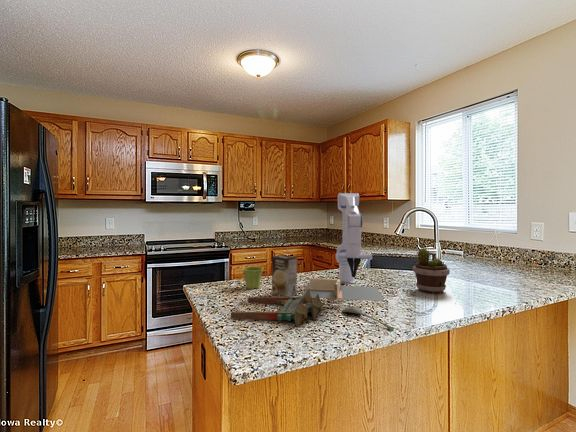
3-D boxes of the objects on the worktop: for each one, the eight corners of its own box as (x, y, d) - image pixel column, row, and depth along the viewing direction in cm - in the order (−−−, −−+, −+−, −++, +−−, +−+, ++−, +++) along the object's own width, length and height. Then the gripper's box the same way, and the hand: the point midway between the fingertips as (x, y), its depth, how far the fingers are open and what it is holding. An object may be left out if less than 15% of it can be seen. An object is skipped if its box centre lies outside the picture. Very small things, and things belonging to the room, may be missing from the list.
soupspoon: (352, 311, 115) (337, 315, 112) (352, 302, 115) (337, 305, 112) (399, 330, 96) (383, 335, 92) (399, 318, 96) (383, 323, 92)
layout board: (306, 285, 149) (306, 273, 148) (376, 288, 144) (376, 275, 144) (302, 298, 127) (302, 284, 127) (384, 302, 122) (384, 287, 122)
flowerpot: (455, 291, 139) (456, 246, 139) (439, 297, 130) (439, 248, 129) (423, 285, 151) (423, 243, 150) (406, 290, 141) (406, 245, 140)
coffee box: (270, 294, 133) (271, 256, 133) (280, 291, 138) (281, 254, 138) (287, 298, 127) (288, 258, 127) (297, 295, 132) (297, 256, 132)
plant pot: (259, 290, 139) (259, 271, 139) (239, 289, 142) (239, 269, 141) (266, 285, 148) (266, 267, 148) (247, 284, 151) (247, 266, 150)
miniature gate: (251, 290, 127) (326, 289, 121) (252, 304, 127) (327, 303, 121) (225, 311, 100) (319, 311, 94) (226, 329, 100) (321, 329, 95)
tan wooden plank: (337, 289, 138) (337, 278, 138) (340, 289, 137) (340, 278, 137) (334, 297, 126) (334, 284, 126) (337, 297, 126) (337, 284, 126)
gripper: (336, 244, 126) (335, 278, 127) (373, 245, 124) (373, 279, 125) (335, 242, 133) (335, 274, 134) (371, 243, 131) (370, 275, 132)
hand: (353, 276), depth 130 cm, fingers closed
